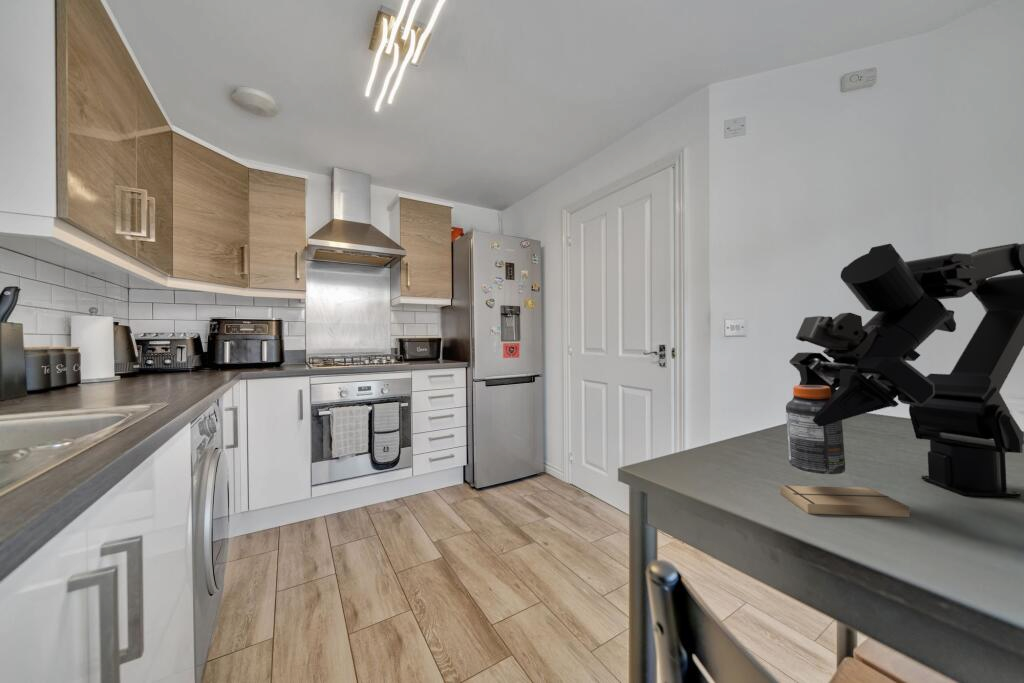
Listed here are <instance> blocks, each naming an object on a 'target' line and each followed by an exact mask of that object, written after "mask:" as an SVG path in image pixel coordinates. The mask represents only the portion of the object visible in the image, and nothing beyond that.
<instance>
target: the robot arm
mask: <svg viewBox="0 0 1024 683" xmlns="http://www.w3.org/2000/svg"><path fill="white" fill-rule="evenodd" d="M1017 271H1020V272H1021V273H1018V274H1009V275H1002V274H1006V273H1009V272H1017ZM1000 275H1001V276H1000ZM840 279H841V280H842V281H843V283H844V284H845V285H846V287H847V288H848V289H849V290H850V292H851V293H852V295H854V296H855V298H856V299H857V300H858V302H859V303H861V304H860V305H862V306H863V307H864V309H866V311H870V312H874V313H875V312H876V313H875V314H874V316H872V317H871V318H870V319H869V320H868V321H867V322H866V323H865V324H864V325H863V318H862V316H861V315H859V314H856V313H853V312H843V313H839V314H838V315H836V316H835V317H832V316H829V315H828V316H822V315H815V316H808V317H807V316H806V317H804V319H803V321H802V323H801V326H800V328H799V330H798V332H797V334H796V337H795V339H796V340H797V341H801V342H808V343H810V344H813V345H816V346H817V347H818V346H819V347H821V348H824V350H822V353H823V354H822V353H821V352H809V351H808V352H807V351H806V352H797V353H796V354H794V356H793V357H792V358H791V359H790V360H789V364H790V365H791V366H793V367H794V368H796V370H797V371H798V373H799V376H800V382H799V384H798V385H821V386H828V387H830V389H831V398H830V399H829V400H828V401H827V402H826V403H825V405H824V406H823V407H822V408H821V409H820V411H819V412H818V413H817V415H816V416H815V418H814V419H813V422H814V423H816V424H817V425H818V426H825V425H828V424H831V423H834V422H838V421H841V420H842V421H844V420H847V419H850V418H854V417H857V416H860V415H864V414H867V413H871V412H874V411H878V410H881V409H887V408H896V407H898V405H899V402H900V403H901V404H904V405H908V406H909V407H908V413H909V417H910V420H911V421H910V422H911V423H912V427H913V432H914V435H915V439H918V440H927V441H928V440H929V449H930V450H928V452H927V464H928V465H927V466H928V475H921V479H922V480H924V481H926V482H929V483H931V484H934V485H935V486H940V487H942V488H945V489H948V490H950V491H953V492H955V493H957V494H960V495H964V496H971V497H973V496H974V497H978V496H979V497H1005V498H1006V497H1007V498H1008V497H1009V498H1010V497H1013V498H1015V497H1016V498H1019V497H1022V494H1021V493H1022V492H1019V491H1015V490H1013V489H1009V488H1008V487H1007V485H1008V484H1007V465H1006V454H1007V453H1015V454H1017V453H1018V454H1022V453H1023V445H1024V432H1023V431H1022V429H1021V428H1020V426H1019V424H1018V423H1017V421H1016V420H1015V418H1014V417H1013V415H1012V413H1011V412H1010V409H1009V407H1008V405H1007V404H1006V402H1005V400H1004V398H1003V396H1002V394H1001V393H1000V391H1001V389H1002V388H1003V385H1004V384H1005V382H1006V381H1007V378H1008V377H1009V374H1010V373H1011V371H1012V368H1013V367H1014V365H1015V363H1016V361H1017V360H1018V357H1019V355H1020V353H1021V352H1022V350H1023V347H1024V243H1018V242H1015V243H1008V244H1003V245H997V246H991V247H986V248H979V249H977V251H972V252H970V253H960V252H959V253H957V252H955V253H954V252H953V253H949V254H944V255H938V256H932V257H925V258H919V259H915V260H914V259H913V260H909V261H905V260H904V259H903V257H902V256H901V255H900V254H899V253H898V251H897V250H896V248H895V247H894V245H892V243H888V244H887V243H886V244H882V245H881V244H880V245H877V246H876V245H875V246H872V247H870V250H869V251H868V253H865V254H863V255H861V256H859V257H857V258H856V259H854V260H852V261H851V262H850V263H848V265H846V266H844V267H843V268H842V270H841V271H840ZM969 293H971V294H973V296H974V297H975V298H976V299H977V300H978V302H980V304H981V306H982V308H983V310H984V312H985V315H984V316H983V317H982V319H981V321H980V323H979V324H978V326H977V328H976V329H975V331H974V333H973V334H972V336H971V338H970V340H969V341H968V343H967V345H966V347H965V348H964V350H963V352H962V353H961V355H960V356H959V358H958V359H957V361H956V363H955V365H954V366H953V368H952V370H951V371H950V373H929V374H928V375H924V374H923V373H922V372H920V371H919V370H918V369H917V368H915V367H914V366H912V365H911V364H910V363H909V362H915V361H916V360H917V359H919V357H920V356H921V354H920V353H919V352H917V350H916V349H917V348H918V347H919V346H920V345H921V344H923V342H925V341H926V340H927V339H928V338H930V336H931V335H932V334H933V333H934V332H935V331H936V330H937V331H942V332H948V333H954V332H955V331H956V329H957V322H956V321H955V318H954V315H955V311H954V310H951V309H947V308H946V307H945V305H944V304H943V303H942V301H941V300H950V299H957V298H958V299H959V298H962V297H965V296H966V295H968V294H969ZM824 354H825V355H826V356H827V357H829V358H832V359H833V360H832V361H831V360H829V359H828V358H827V357H826V356H824ZM896 398H897V400H898V401H899V402H898V401H896V400H895V399H896ZM793 399H794V396H793V397H792V399H791V400H793Z"/></svg>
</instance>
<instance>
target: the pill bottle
mask: <svg viewBox="0 0 1024 683" xmlns="http://www.w3.org/2000/svg"><path fill="white" fill-rule="evenodd" d="M792 391H793V392H792V395H793V397H794V399H793V398H792V399H793V400H792V399H791V400H790V401H788V402H787V403H786V404H785V418H786V429H787V430H786V431H787V433H786V434H787V448H788V463H789V465H790V466H791V467H792V468H794V469H795V470H797V471H801V472H804V473H809V474H813V475H820V476H821V475H823V476H835V475H836V476H837V475H841V474H843V473H845V471H846V460H845V458H846V456H845V445H844V431H843V420H841V421H838V422H834V423H831V424H828V425H825V426H818V425H817V424H816V423H814V422H813V419H814V418H815V416H816V415H817V413H818V412H819V411H820V409H821V408H822V407H823V406H824V405H825V403H826V402H827V401H828V400H829V399H830V398H831V389H830V387H828V386H821V385H799V384H798V385H793V390H792Z"/></svg>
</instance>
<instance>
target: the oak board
mask: <svg viewBox="0 0 1024 683" xmlns="http://www.w3.org/2000/svg"><path fill="white" fill-rule="evenodd" d="M779 488H780V490H779V491H780V495H781V496H782V497H784V498H785V499H787V500H788V501H790V503H792V504H794V505H795V506H797V507H798V508H799V509H800V510H802V511H804V512H805V513H806V514H811V515H813V514H814V515H815V514H816V515H817V514H818V515H840V516H841V515H843V516H844V515H845V516H846V515H847V516H872V517H873V516H876V517H878V516H879V517H902V518H903V517H904V518H906V517H907V518H908V517H909V518H911V517H910V516H911V515H910V514H911V513H910V506H908V505H907V504H904V503H902V502H900V501H898V500H896V499H894V498H892V497H890V496H889V495H885V494H884V493H881V492H880V491H877V490H875V489H873V488H870V487H856V486H855V487H854V486H851V487H848V486H844V487H843V486H813V485H810V486H809V485H780V486H779Z"/></svg>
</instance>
